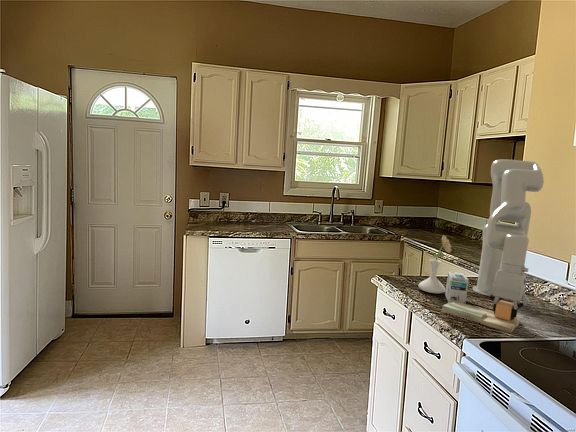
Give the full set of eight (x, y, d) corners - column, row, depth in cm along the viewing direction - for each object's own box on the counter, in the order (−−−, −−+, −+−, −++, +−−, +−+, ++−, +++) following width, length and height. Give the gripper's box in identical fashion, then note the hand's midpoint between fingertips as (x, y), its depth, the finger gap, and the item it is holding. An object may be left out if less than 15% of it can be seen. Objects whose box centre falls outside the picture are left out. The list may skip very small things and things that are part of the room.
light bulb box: (465, 305, 175) (469, 279, 174) (448, 303, 176) (451, 277, 175) (460, 297, 185) (464, 272, 184) (444, 295, 187) (447, 270, 185)
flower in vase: (432, 296, 183) (440, 238, 179) (412, 288, 192) (419, 232, 189) (453, 294, 189) (461, 237, 186) (432, 286, 199) (440, 232, 196)
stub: (498, 312, 164) (500, 300, 163) (513, 316, 161) (515, 303, 160) (494, 316, 159) (496, 303, 159) (509, 320, 156) (511, 307, 156)
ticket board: (454, 304, 175) (455, 298, 175) (520, 322, 160) (521, 316, 160) (441, 312, 164) (442, 305, 164) (510, 332, 149) (511, 325, 149)
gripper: (540, 272, 155) (532, 321, 158) (489, 261, 166) (482, 307, 168) (536, 275, 149) (527, 326, 152) (484, 264, 160) (476, 311, 163)
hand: (504, 315), depth 160 cm, fingers closed on stub, 5 cm apart
